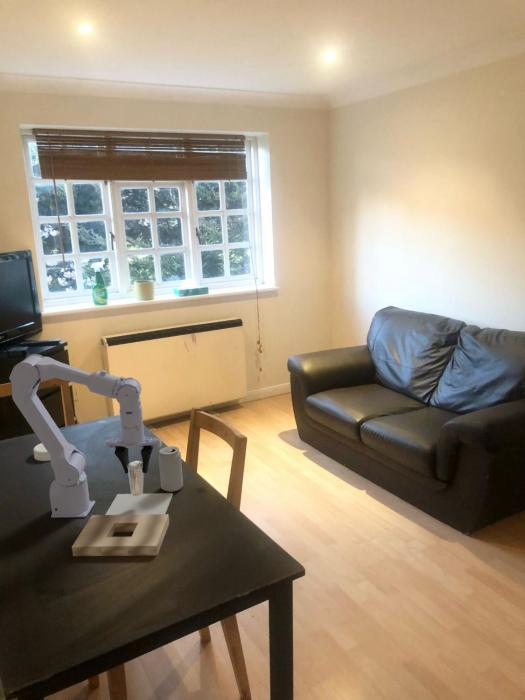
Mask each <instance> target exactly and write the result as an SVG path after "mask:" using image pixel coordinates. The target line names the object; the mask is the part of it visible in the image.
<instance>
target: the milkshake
mask: <svg viewBox="0 0 525 700" xmlns="http://www.w3.org/2000/svg"><path fill="white" fill-rule="evenodd" d="M127 469H128V473H127V474H128V482H129V489H130V494H131V495H132V496H135V497H136V496H141V495H143V494H145V493H144V492H145V491H144V489H145V486H144V485H145V483H144V482H145V473H144V471H143V461H140V460H134V461H131V462H130V461H129V464H128V465H127Z"/></svg>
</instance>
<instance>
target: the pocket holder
mask: <svg viewBox="0 0 525 700" xmlns="http://www.w3.org/2000/svg"><path fill="white" fill-rule="evenodd" d="M169 524H170V515H169V514H168V513H167V514H146V515H105V514H96V515H95V514H91V516H90V518H89V519H88V521H87V523H86V524H85V525H84V528H83V529H82V530H81V532H80V533H79V535H78V536H77V538H76V539H75V541H74V542H73V544H72V546H71V550H72V557H99V556H100V557H109V556H111V557H114V556H117V557H119V556H120V557H123V556H124V557H125V556H128V557H131V556H137V557H138V556H158V554H159V552H160V549H161V547H162V544H163V541H164V539H165V535H166V533H167V531H168V528H169ZM129 532H130V533H131V532H133V533H132V535H131V536H114V535H115V533H129Z"/></svg>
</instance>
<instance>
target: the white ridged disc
mask: <svg viewBox="0 0 525 700" xmlns="http://www.w3.org/2000/svg"><path fill="white" fill-rule="evenodd" d="M32 451H33V458H34V459H35V460H36V461H39V462H51V458H50V454H49V453H48V451H47V450H46V448H45V447H44V445H43V444H42V442H41V443H39V444H36V445H35V446H34V447H33V450H32Z"/></svg>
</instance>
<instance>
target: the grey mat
mask: <svg viewBox="0 0 525 700" xmlns="http://www.w3.org/2000/svg"><path fill="white" fill-rule="evenodd" d="M173 493H174V492H166V493H164V492H163V493H143V495H141V496H136V497H135V496H132V495H131V493H117V494H116V496H115V497H114V499H113V501H112V503H111V505H110V506H109V507H108V510H107V511H106V512H105V514H104V515H146V514H166V513H167V511H168V508H169V506H170V503H171V500H172V498H173V496H174V494H173Z"/></svg>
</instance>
